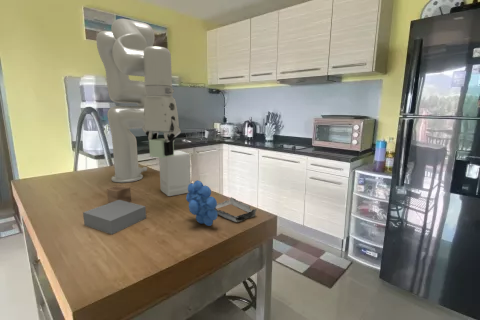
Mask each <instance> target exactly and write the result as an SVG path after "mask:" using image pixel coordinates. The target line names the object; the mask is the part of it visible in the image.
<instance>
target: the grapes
mask: <svg viewBox="0 0 480 320" xmlns="http://www.w3.org/2000/svg"><path fill="white" fill-rule="evenodd" d="M188 192H189V193H186V196H185V199H186V201H187V202H188V209H189V212H190V214H192V215H193V216H195V220H196V221H197V222H198V223H199V224H201V225H202V224H204V225H205V226H208V227H210V226H212V225H213V222H214V221H216V220H217V219H218V216H219V215H218V214H217V211H216V210H215V209H214V208H215V207H216V206H217V204H218V202H217V199H216V198H215V197H214V196H211V195H212V190H211V188H210V187H209V186H208V185H207V184H206V185H204V184H203V182H202V181H200V180H195V181H194V182H193V183H191V182H190V184H189V185H188Z"/></svg>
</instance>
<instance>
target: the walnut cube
mask: <svg viewBox="0 0 480 320" xmlns="http://www.w3.org/2000/svg"><path fill="white" fill-rule="evenodd" d="M131 190H132V189H131V187H130V186H125V185H123V184H122V185H116V186H112V187H110V188H106V192H107V202H108V203H111V202H114V201H117V200H122V201H126V202H130V203H132V193H131ZM108 203H107V204H108Z"/></svg>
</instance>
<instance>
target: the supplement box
mask: <svg viewBox="0 0 480 320" xmlns="http://www.w3.org/2000/svg"><path fill="white" fill-rule="evenodd" d="M158 162H159V166H158V167H159V179H160V180H159V182H160V191H161V192H162V193H163V194H165V196H167V197H171V196H178V195H183V194H188V193H189V192H188V185H189V184H191V154H190V153H189V152H186V151H183V150H174V156H169V157H165V158H158Z"/></svg>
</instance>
